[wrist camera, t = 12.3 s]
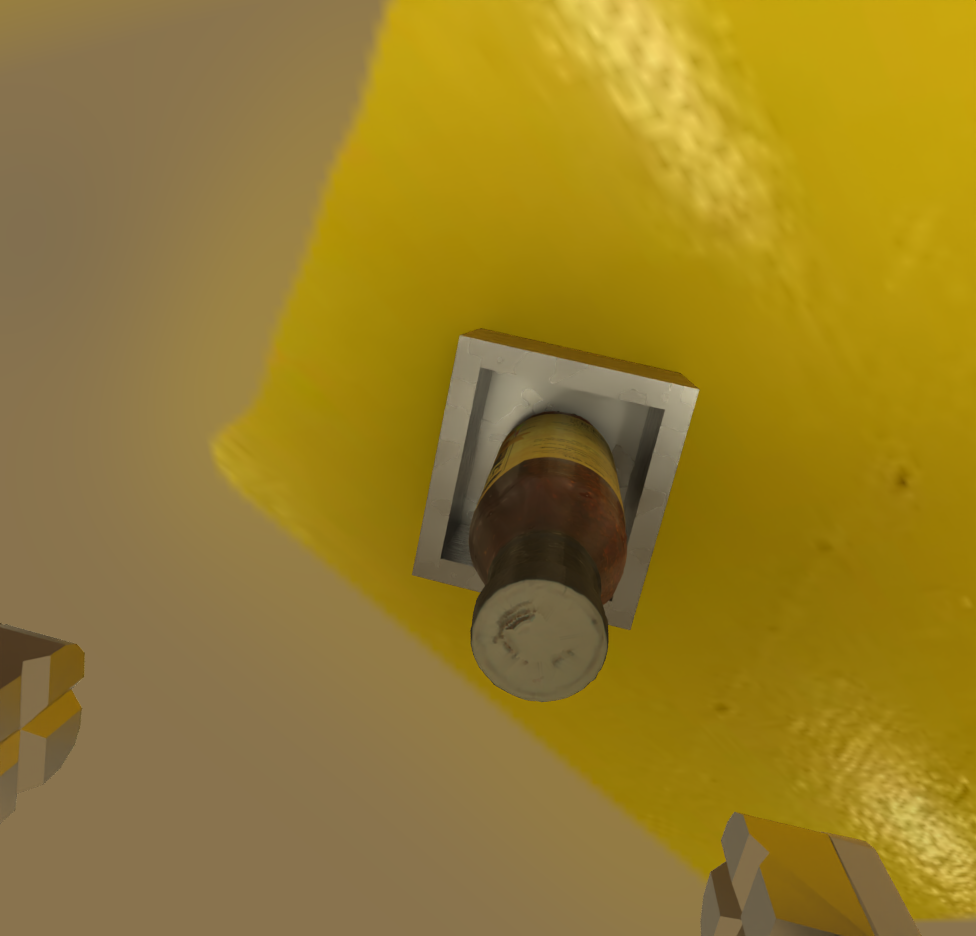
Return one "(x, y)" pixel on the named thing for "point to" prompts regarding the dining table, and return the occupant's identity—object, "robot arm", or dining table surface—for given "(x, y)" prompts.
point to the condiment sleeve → (563, 388)
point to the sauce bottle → (547, 558)
